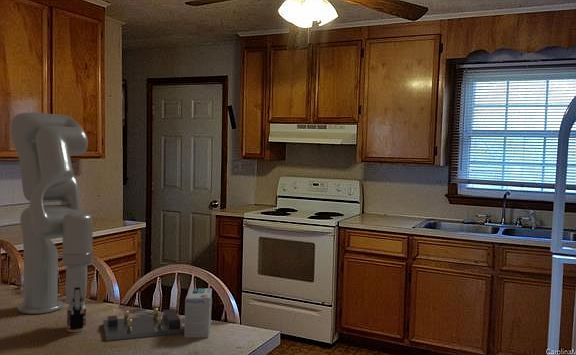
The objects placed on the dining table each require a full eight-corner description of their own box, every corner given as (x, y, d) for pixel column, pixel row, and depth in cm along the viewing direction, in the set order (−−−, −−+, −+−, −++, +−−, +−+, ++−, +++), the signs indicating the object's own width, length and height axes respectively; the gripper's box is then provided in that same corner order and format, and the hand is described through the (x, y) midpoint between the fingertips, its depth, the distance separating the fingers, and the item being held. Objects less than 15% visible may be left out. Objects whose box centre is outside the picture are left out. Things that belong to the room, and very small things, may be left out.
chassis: (103, 324, 149) (103, 309, 149) (174, 318, 157) (174, 304, 157) (106, 340, 136) (106, 324, 136) (183, 333, 144) (184, 317, 144)
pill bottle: (79, 333, 142) (79, 302, 141) (63, 331, 143) (63, 300, 142) (89, 327, 146) (89, 297, 146) (73, 326, 147) (74, 296, 147)
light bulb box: (187, 325, 151) (188, 287, 151) (211, 325, 152) (212, 287, 151) (183, 338, 140) (184, 297, 140) (209, 338, 141) (210, 297, 141)
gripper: (62, 253, 150) (62, 316, 151) (61, 266, 134) (61, 336, 135) (91, 252, 153) (90, 314, 154) (93, 264, 137) (92, 333, 138)
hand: (76, 324), depth 144 cm, fingers open, 5 cm apart
